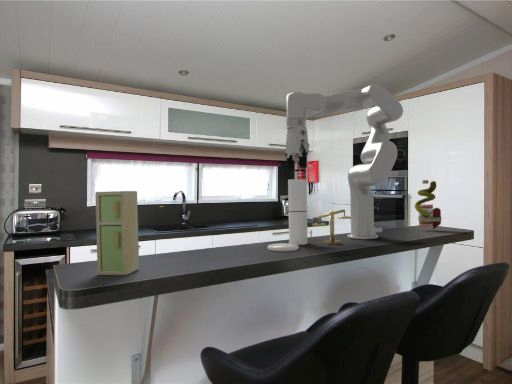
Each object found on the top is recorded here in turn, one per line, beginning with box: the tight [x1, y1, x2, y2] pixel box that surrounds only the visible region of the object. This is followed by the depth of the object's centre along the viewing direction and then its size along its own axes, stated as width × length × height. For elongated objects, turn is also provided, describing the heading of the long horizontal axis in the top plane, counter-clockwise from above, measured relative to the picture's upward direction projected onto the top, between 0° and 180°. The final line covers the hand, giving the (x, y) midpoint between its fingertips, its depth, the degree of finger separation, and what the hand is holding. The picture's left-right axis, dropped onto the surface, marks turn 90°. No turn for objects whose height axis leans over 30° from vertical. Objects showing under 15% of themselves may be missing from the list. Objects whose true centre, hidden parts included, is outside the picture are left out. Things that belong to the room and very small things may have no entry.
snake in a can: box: [414, 179, 442, 230], centre depth 158 cm, size 12×10×25 cm
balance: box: [311, 209, 351, 246], centre depth 123 cm, size 17×5×13 cm, turn 113°
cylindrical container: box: [287, 178, 308, 246], centre depth 126 cm, size 7×7×25 cm
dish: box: [267, 243, 300, 253], centre depth 114 cm, size 11×11×1 cm
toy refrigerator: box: [94, 190, 140, 276], centre depth 82 cm, size 8×7×21 cm
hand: (296, 168), depth 125 cm, fingers open, 9 cm apart
